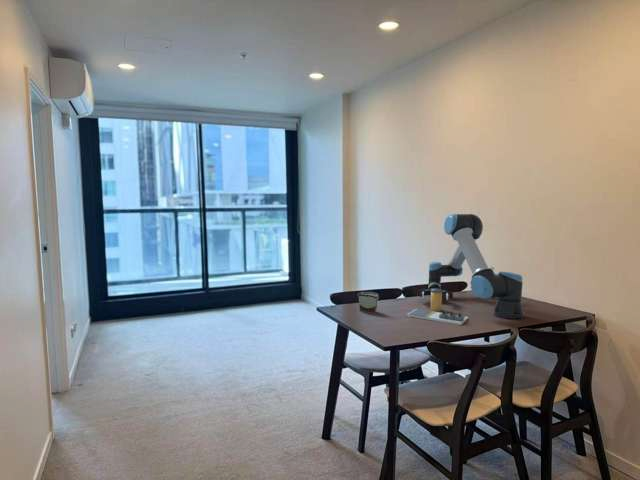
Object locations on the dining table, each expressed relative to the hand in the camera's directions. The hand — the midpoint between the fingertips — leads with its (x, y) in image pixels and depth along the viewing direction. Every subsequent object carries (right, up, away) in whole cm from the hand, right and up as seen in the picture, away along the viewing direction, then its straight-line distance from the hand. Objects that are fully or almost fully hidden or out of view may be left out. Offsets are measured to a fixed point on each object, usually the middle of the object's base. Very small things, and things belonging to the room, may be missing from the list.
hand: (435, 297), depth 251 cm
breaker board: (-5, -8, -22) cm, 23 cm away
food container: (-39, -7, -9) cm, 40 cm away
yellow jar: (-1, -6, -5) cm, 8 cm away
